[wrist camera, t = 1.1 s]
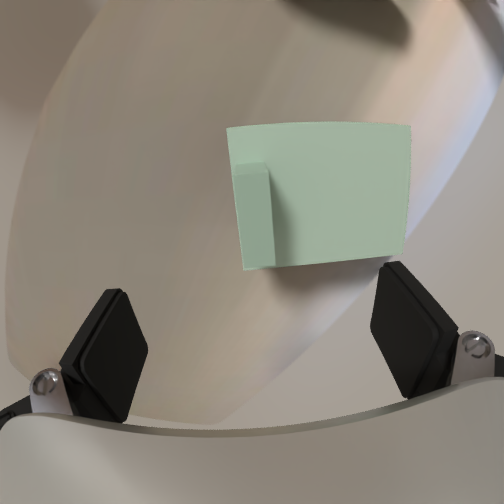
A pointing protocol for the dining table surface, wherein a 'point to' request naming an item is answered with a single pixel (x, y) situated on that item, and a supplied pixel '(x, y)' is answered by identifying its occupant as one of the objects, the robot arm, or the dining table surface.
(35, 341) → the dining table surface
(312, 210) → the lid
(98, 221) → the dining table surface
